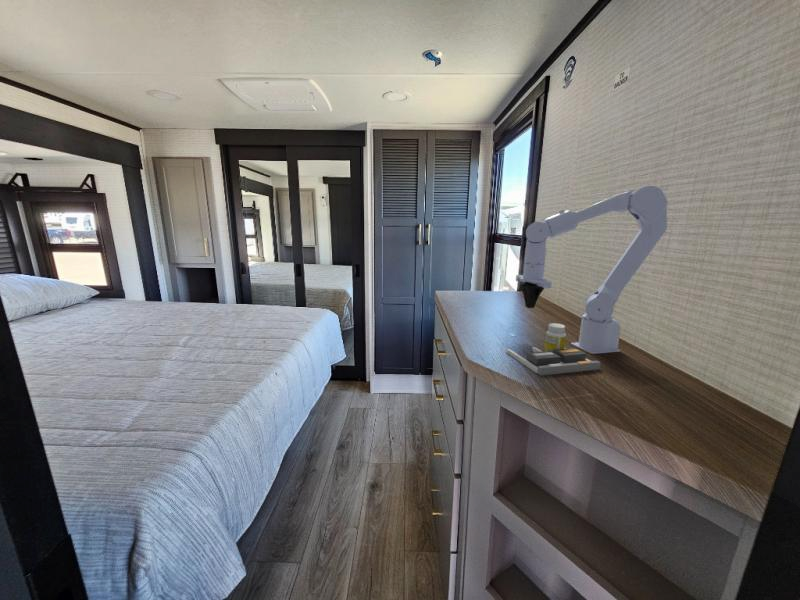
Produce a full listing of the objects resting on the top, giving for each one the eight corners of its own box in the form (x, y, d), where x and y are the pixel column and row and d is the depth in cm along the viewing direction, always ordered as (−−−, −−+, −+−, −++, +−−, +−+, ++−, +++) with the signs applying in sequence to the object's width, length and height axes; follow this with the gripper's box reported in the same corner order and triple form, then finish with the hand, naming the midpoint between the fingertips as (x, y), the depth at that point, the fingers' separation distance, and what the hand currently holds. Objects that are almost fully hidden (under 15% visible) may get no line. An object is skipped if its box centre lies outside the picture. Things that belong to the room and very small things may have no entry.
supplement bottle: (559, 352, 85) (563, 323, 83) (566, 358, 81) (570, 328, 79) (541, 351, 86) (544, 322, 84) (547, 357, 81) (550, 327, 80)
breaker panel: (558, 349, 88) (559, 341, 87) (599, 369, 74) (600, 361, 74) (506, 353, 84) (507, 345, 84) (539, 376, 71) (540, 367, 70)
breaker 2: (573, 357, 81) (574, 347, 80) (584, 364, 77) (586, 352, 76) (551, 359, 80) (553, 348, 79) (562, 366, 76) (564, 354, 75)
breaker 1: (548, 360, 79) (549, 349, 78) (559, 367, 75) (560, 355, 74) (526, 362, 77) (527, 351, 77) (536, 369, 74) (537, 358, 73)
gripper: (509, 261, 98) (505, 302, 101) (538, 266, 84) (533, 313, 87) (528, 261, 100) (524, 302, 102) (560, 265, 86) (554, 312, 89)
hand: (529, 307), depth 95 cm, fingers closed
